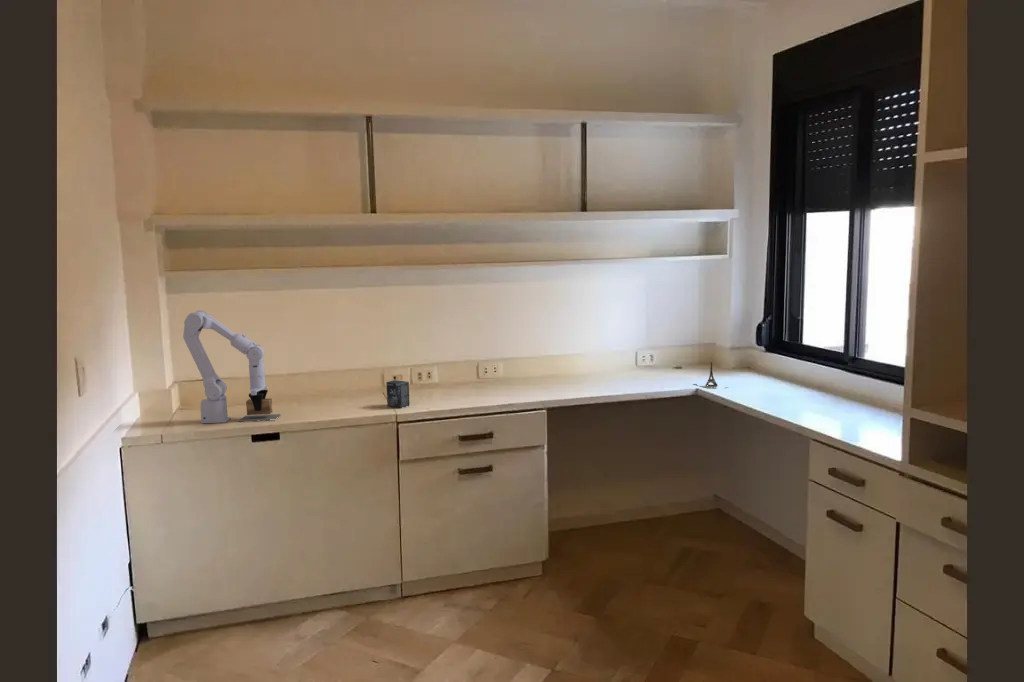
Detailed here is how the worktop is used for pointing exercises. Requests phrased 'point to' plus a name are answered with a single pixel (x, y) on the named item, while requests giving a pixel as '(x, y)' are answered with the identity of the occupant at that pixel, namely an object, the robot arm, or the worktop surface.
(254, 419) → the mat
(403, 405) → the box
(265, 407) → the walnut block
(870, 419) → the worktop surface
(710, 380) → the eiffel tower figurine
